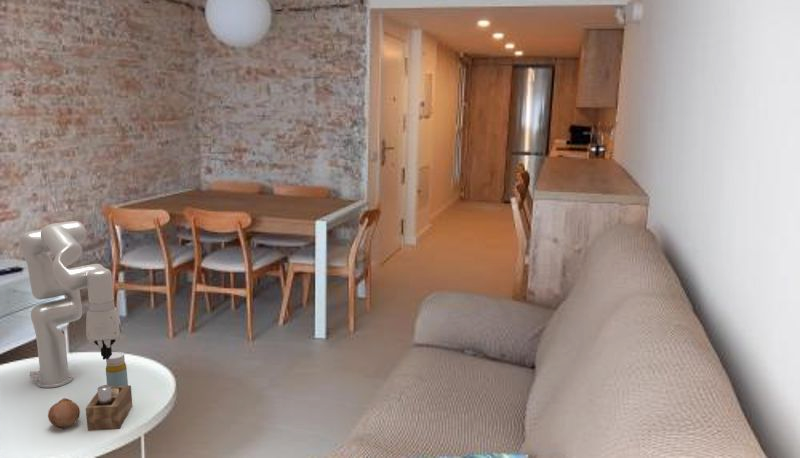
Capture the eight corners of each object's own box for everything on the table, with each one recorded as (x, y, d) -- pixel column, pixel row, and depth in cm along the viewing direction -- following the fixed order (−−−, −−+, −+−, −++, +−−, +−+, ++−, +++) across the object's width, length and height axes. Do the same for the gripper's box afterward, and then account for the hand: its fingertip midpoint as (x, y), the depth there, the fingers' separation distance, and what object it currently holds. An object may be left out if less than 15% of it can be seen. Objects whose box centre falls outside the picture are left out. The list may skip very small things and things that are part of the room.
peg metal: (97, 411, 214) (95, 390, 212) (101, 406, 217) (99, 385, 216) (110, 411, 214) (108, 390, 213) (114, 405, 218) (112, 384, 216)
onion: (65, 429, 219) (66, 399, 222) (86, 426, 216) (86, 395, 218) (41, 432, 211) (41, 400, 213) (62, 429, 207) (62, 397, 210)
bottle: (121, 398, 235) (117, 359, 232) (103, 396, 237) (100, 358, 234) (132, 390, 242) (129, 352, 239) (115, 388, 243) (112, 350, 240)
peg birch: (106, 413, 222) (104, 393, 221) (110, 408, 226) (108, 388, 225) (118, 413, 223) (116, 392, 221) (122, 407, 227) (120, 387, 225)
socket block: (87, 430, 212) (85, 408, 211) (103, 408, 228) (100, 386, 226) (119, 428, 214) (117, 406, 212) (132, 406, 229) (130, 385, 228)
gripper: (74, 310, 209) (79, 363, 213) (122, 308, 211) (127, 360, 215) (81, 303, 216) (86, 355, 220) (128, 301, 219) (133, 352, 222)
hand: (106, 357), depth 217 cm, fingers closed
